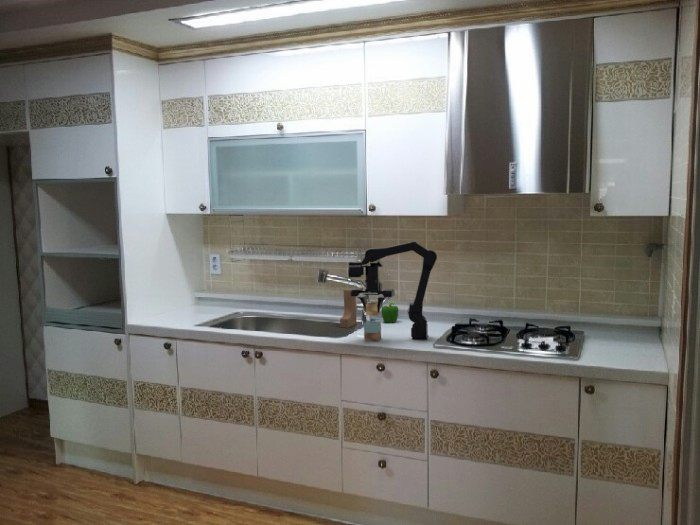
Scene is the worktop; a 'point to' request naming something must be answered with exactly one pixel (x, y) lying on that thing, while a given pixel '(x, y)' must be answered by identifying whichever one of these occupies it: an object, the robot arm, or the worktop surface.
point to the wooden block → (349, 310)
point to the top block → (372, 326)
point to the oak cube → (372, 309)
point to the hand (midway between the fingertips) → (373, 312)
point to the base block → (372, 336)
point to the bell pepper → (390, 313)
